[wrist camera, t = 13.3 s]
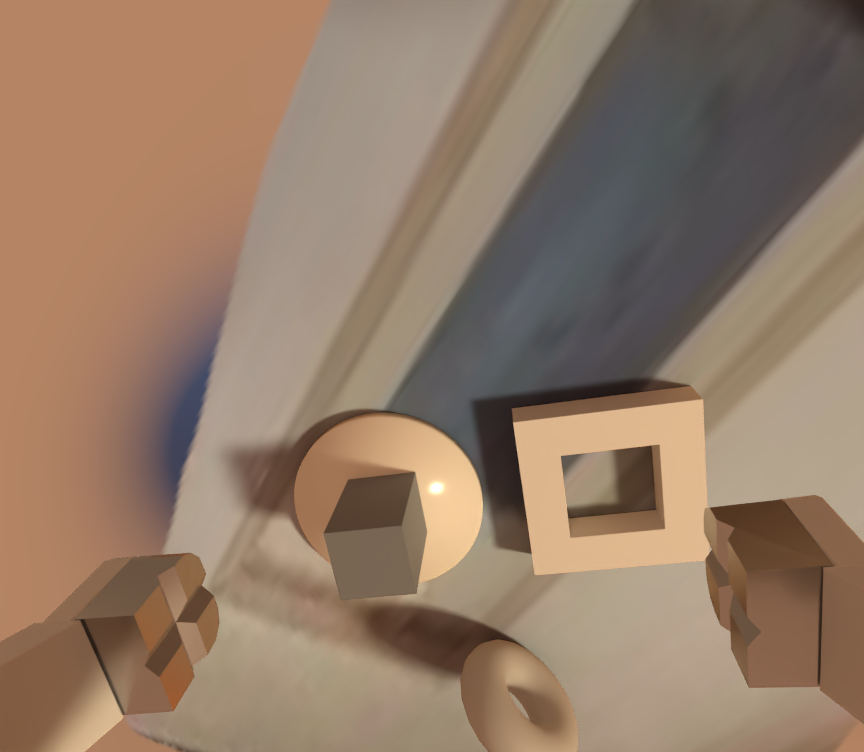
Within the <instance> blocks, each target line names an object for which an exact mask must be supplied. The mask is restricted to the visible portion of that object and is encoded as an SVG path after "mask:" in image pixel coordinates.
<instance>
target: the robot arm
mask: <svg viewBox="0 0 864 752" xmlns="http://www.w3.org/2000/svg"><path fill="white" fill-rule="evenodd" d="M703 519H704V534H705V536H706V538H707V540H708V542H709V544H710V546H711V548H712V551H711V552H710V553H709V555H708V556H707V557H706V558H705V562H706V575H707V582H708V588H709V593H710V598H711V601H712V604H713V607H714V611H715V613H716V615H717V618H718V620H719V623H720V625H721V626H723V627H724V628H726V629H727V630H729V631H730V632H731V650H732V652H733V654H734V656H735V658H736V661H737V663H738V665H739V667H740V669H741V671H742V674H743V676H744V678H745V680H746V682H747V685H748V687H749V688H767V687H820V690H821V691H822V692H823V693H825V694H826V695H827V696H829V697H830V698H831V699H832V700H834V701H835V702H836V703H837V704H839V705H840V706H841V707H843V708H844V709H845V710H846V711H848V712H849V713H850V714H852V715H853V716H854V717H855V718H857V719H858V720H859V721H861V722H862V723H863V724H864V542H863V541H862V540H861V539H860V538H859V537H858V536H857V535H856V534H855V533H854V531H853V530H852V529H851V528H850V527H849V526H848V525H847V524H846V523H845V522H844V521H843V520H842V518H841V517H840V516H839V515H838V514H837V513H836V512H835V511H834V510H833V509H832V508H831V507H830V506H829V504H828V503H827V502H826V501H825V500H824V499H823V498H822V497H819V496H817V495H811V496H803V497H795V498H787V499H779V500H773V501H764V502H755V503H746V504H737V505H728V506H719V507H710V508H705V510H704V518H703ZM205 575H206V572H205V570H204V568H203V565H202V563H201V560H200V558H199V557H198V556H196V555H194V554H192V553H182V554H167V555H152V556H140V557H135V556H134V557H126V558H125V557H124V558H116V559H111V560H108V561H105V562H103V563H102V564H101V565H100V566H99V567H98V568H97V569H96V570H95V571H94V572H93V573H92V574H91V575H90V577H88V578H87V579H86V580H85V581H84V582H83V583H82V584H81V585H80V586H79V587H78V588H77V589H76V590H75V591H74V592H73V593H72V594H71V595H70V596H69V597H68V598H67V599H66V600H65V601H64V602H63V603H62V604H61V605H60V606H59V607H58V608H57V609H56V610H55V611H54V612H53V613H52V614H51V615H50V616H49V617H48V618H47V619H46V620H45V621H44V622H43V623H34V624H32V625H30V626H29V627H27V628H25V629H23V630H21V631H19V632H18V633H16V634H14V635H12V636H10V637H8V638H6V639H5V640H3V641H1V642H0V752H85V751H86V750H87V749H88V748H89V747H91V746H92V745H93V744H94V743H95V742H96V741H97V740H99V739H100V738H101V737H102V736H103V735H104V734H105V733H107V732H108V731H109V730H110V729H111V728H112V727H113V726H114V725H116V724H117V723H118V722H119V721H120V720H121V719H123V715H129V714H143V713H157V712H170V711H174V709H175V708H176V706H177V704H178V703H179V701H180V700H181V698H182V696H183V695H184V693H185V691H186V690H187V688H188V686H189V685H190V683H191V681H192V680H193V678H194V672H193V667H192V666H193V665H194V664H196V663H197V662H199V661H200V660H201V659H203V658H204V657H205V656H207V655H208V653H209V651H210V650H211V648H212V646H213V644H214V643H215V641H216V637H217V632H218V627H219V613H218V607H217V604H216V601H215V598H214V596H213V595H212V594H211V593H210V592H209V591H208V590H206V589H205V588H204V587H203V586H202V583H203V581H204V578H205Z"/></svg>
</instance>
